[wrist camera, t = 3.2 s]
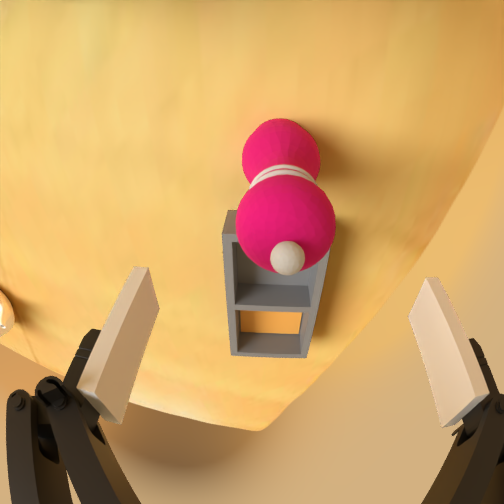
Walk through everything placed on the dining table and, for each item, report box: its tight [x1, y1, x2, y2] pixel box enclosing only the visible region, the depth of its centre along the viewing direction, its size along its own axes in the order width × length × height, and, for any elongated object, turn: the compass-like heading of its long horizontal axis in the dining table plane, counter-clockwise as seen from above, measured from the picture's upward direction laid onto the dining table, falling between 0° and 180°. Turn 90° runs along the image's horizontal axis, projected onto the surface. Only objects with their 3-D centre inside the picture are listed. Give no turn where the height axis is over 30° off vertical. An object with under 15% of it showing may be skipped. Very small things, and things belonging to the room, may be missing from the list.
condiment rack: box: [222, 210, 330, 358], centre depth 41 cm, size 12×22×5 cm, turn 0°
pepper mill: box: [236, 119, 336, 275], centre depth 23 cm, size 7×7×20 cm
